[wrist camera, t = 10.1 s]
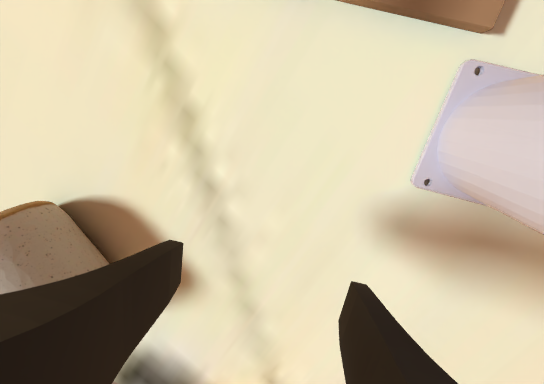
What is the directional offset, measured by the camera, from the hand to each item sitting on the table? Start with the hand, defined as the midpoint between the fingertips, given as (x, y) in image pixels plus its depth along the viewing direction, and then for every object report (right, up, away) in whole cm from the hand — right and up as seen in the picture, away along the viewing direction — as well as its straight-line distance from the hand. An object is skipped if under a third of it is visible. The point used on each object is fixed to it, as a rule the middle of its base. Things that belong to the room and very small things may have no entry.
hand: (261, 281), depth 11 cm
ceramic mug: (-18, -2, +13) cm, 23 cm away
